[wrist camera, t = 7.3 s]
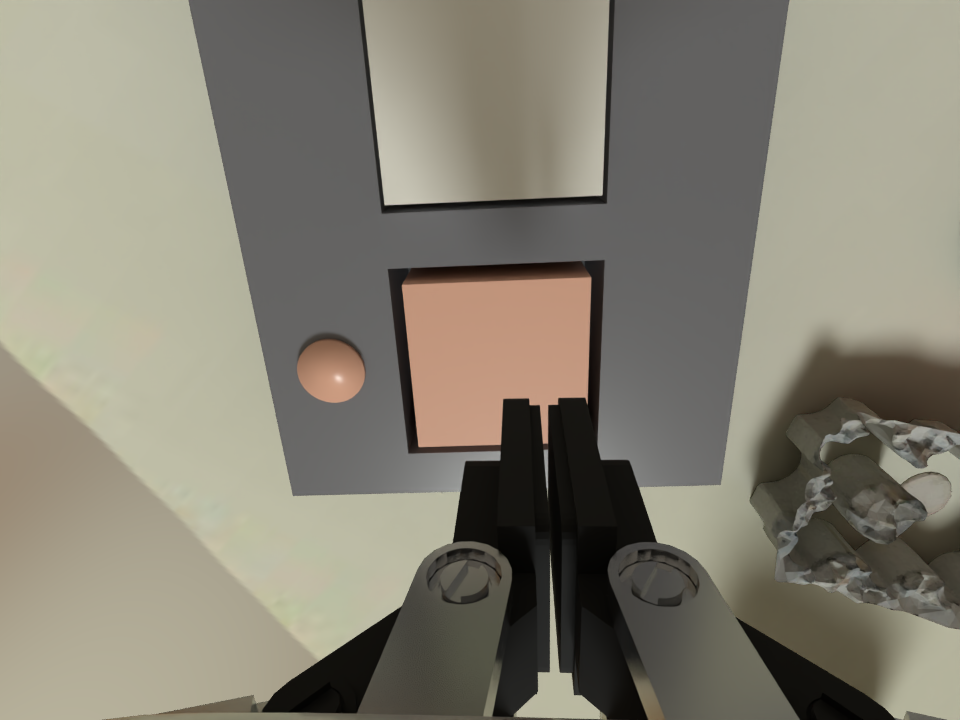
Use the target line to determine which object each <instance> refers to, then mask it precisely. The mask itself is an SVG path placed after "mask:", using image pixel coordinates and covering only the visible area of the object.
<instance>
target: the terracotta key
mask: <svg viewBox="0 0 960 720" xmlns="http://www.w3.org/2000/svg"><path fill="white" fill-rule="evenodd" d="M402 291H403V301H404V310H405V320H406V330H407V340H408V349H409V359H410V369H411V378H412V388H413V398H414V407H415V417H416V427H417V437H418V446H419V447H440V446H475V445H501V432H502V411H503V399H515V398H529V403H530V405H540V412H541V424H542V437H543V444H545V443H548V405H558V398H583V397H585V398H586V401H587V403H588V369H589V336H590V303H591V276H590V275H589V273H588V271H587V270H586V268H585V267H584V265H583V264H582V262H581V261H568V262H544V263H520V264H495V265H471V266H446V267H422V268H411V270H410V272H409V273H408V275H407V277H406V279H405V280H404V282H403V284H402Z"/></svg>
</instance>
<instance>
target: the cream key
mask: <svg viewBox="0 0 960 720" xmlns="http://www.w3.org/2000/svg"><path fill="white" fill-rule="evenodd" d="M362 3H363V12H364V21H365V30H366V39H367V48H368V58H369V67H370V76H371V85H372V94H373V103H374V113H375V122H376V131H377V140H378V149H379V158H380V168H381V177H382V186H383V195H384V204H385V205H403V204H425V203H447V202H469V201H491V200H513V199H535V198H557V197H579V196H601V195H602V194H603V166H604V138H605V110H606V82H607V55H608V27H609V0H362Z"/></svg>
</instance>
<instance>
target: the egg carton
mask: <svg viewBox="0 0 960 720" xmlns="http://www.w3.org/2000/svg"><path fill="white" fill-rule="evenodd" d="M868 430H869V431H870V432H871V433H872V434H873V435H875V436H876V437H877V438H878V439H880V440H881V441H882V442H883V443H884V444H885V445H887V446H888V447H889V448H890V449H892V450H893V451H894V452H895V453H896V454H898V455H899V456H900V457H902V458H903V459H905V460H907V461H908V462H909V463H911V464H912V465H913V466H914V467H916V468H925V467H927V466H928V465H927V460H928V458H929V457H931V456H932V455H935V454H940V453H944V452H946V451H949V452H950V453H952V454H953V455H954V456H956V457H957V458H958V459H960V434H959V433H958V432H956V430H954V429H951V428H949V427H948V426H947V425H945V424H943V423H941V422H939V421H933V420H918V419H913V420H912V421H911V422H910V423H908V424H907V423H903V422H899V421H895V420H890V421H886V420H883V419H881V418H879V417H878V415H877V414H876V413H875V412H873V411H871V410H869V409H868V408H867V406H866V405H865V404H863V403H862V402H859V401H856V400H854V399H850V398H841V397H838V398H836V399H835V400H834V401H833V402H832V403H831V404H830V405H829V406H828V407H826V408H825V409H823V410H822V411H819V412H815V413H812V414H800V415H796V416H795V417H794V419H793V421H792V422H791V424H790V427H789V428H788V430H787V432H786V436H787V437H788V438H789V439H790V440H791V441H792V442H793V443H794V444H795V445H796V446H797V448H798V449H799V450H800V451H801V461H800V464H799V466H798V468H797V469H796V470H795V471H794V472H793V473H792V474H791V475H789V476H788V477H786V478H784V479H782V480H779V481H776V482H770V483H760V484H759V485H758V486H757V488H756V490H755V492H754V494H753V496H752V497H751V500H750V503H751V505H752V506H753V507H754V509H755V510H756V511H757V513H758V514H759V516H760V517H761V519H762V520H763V522H764V523H765V524H764V528H763V529H764V531H765V532H766V535H767V537H768V538H769V539H770V541H771V542H772V543H773V545H774V546H775V547H776V549H777V551H778V552H777V558H776V569H775V580H776V581H777V582H790V583H797V584H802V585H805V584H809V583H811V584H815V585H818V586H821V587H823V588H824V589H825V590H827V591H828V592H831V593H832V592H834V591H835V590H836V591H838V592H840V593H842V594H843V595H845V596H846V597H848V598H849V599H851V600H853V601H854V602H856V603H871V604H876V605H879V606H882V607H885V608H888V609H891V610H899V611H905V612H908V613H911V614H913V615H916V616H919V617H921V618H924V619H927V620H929V621H932V622H935V623H937V624H940V625H943V626H945V627H948V628H954V629H960V551H956V552H950V553H945V554H943V555H940V556H939V557H937V558H935V559H934V560H933V561H932V562H931V563H930V564H928V565H927V564H926V563H925V562H924V561H923V560H922V559H921V558H920V557H919V556H918V555H917V554H916V553H915V552H914V551H913V550H912V549H911V548H910V547H909V546H908V545H907V544H906V543H905V542H904V541H903V540H902V539H900V538H899V537H898V536H899V535H900V534H902V533H903V532H904V531H905V530H906V529H907V528H909V527H910V526H911V525H912V524H913V523H914V522H915V521H924V520H925V518H926V517H928V516H930V515H932V514H934V513H936V512H938V511H939V510H941V509H942V508H943V507H944V506H945V505H946V504H947V502H948V500H949V499H950V497H951V492H952V491H951V484H950V482H949V481H948V479H947V477H945V476H943V475H941V474H939V473H932V472H930V473H927V472H925V473H922V474H918V475H915V476H913V477H911V478H909V479H908V480H906V481H905V482H903V483H902V484H901V485H900V484H898V483H897V482H896V481H895V480H894V479H893V478H892V477H891V476H890V475H889V474H887V473H886V472H885V471H884V470H883V469H882V468H880V467H879V466H878V465H877V464H876V463H874V462H873V461H872V460H871V459H869V458H868V457H867V456H864V455H860V454H848V455H844V456H840V457H838V458H836V459H834V460H833V461H831V462H830V463H829V464H828V465H826V464H825V463H824V462H822V461H821V459H820V454H819V453H820V451H821V448H822V447H823V446H824V444H825V443H826V442H829V441H834V442H839V443H847V444H849V443H850V442H852V441H853V440H855V439H856V438H858V437H863V436H868V435H869V434H870V433H869V432H868ZM831 504H833V505H834V506H835V507H836V509H837V510H838V511H839V512H840V513H841V514H842V515H843V516H844V518H845V519H846V520H847V521H848V523H849V524H850V525H851V526H852V527H853V528H854V529H855V530H856V531H858V532H859V533H861V534H862V535H863V536H865V537H867V538H868V539H870V541H867V542H865V543H864V544H863V545H862V546H861V547H859V548H858V549H857V550H853V549H852V548H851V546H850V545H849V544H848V543H847V542H846V540H845V539H844V538H843V537H842V536H841V535H840V533H839V532H838V531H837V530H836V529H835V527H834V526H833V525H832V524H831V523H829V522H827V521H825V520H821V519H810V518H811V516H812V514H813V513H814V512H818V511H823V510H826V509H827V508H828V507H829V506H830V505H831Z"/></svg>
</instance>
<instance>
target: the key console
mask: <svg viewBox="0 0 960 720" xmlns="http://www.w3.org/2000/svg"><path fill="white" fill-rule="evenodd" d="M189 5H190V10H191V15H192V19H193V24H194V29H195V34H196V38H197V43H198V48H199V53H200V57H201V62H202V67H203V72H204V76H205V81H206V86H207V90H208V95H209V100H210V105H211V109H212V114H213V119H214V124H215V128H216V133H217V138H218V143H219V147H220V152H221V157H222V162H223V166H224V171H225V176H226V181H227V185H228V190H229V195H230V199H231V204H232V209H233V214H234V218H235V223H236V228H237V233H238V237H239V242H240V247H241V252H242V256H243V261H244V266H245V271H246V275H247V280H248V285H249V290H250V294H251V299H252V304H253V308H254V313H255V318H256V323H257V327H258V332H259V337H260V342H261V346H262V351H263V356H264V361H265V365H266V370H267V375H268V380H269V384H270V389H271V394H272V399H273V403H274V408H275V413H276V417H277V422H278V427H279V432H280V436H281V441H282V446H283V451H284V455H285V460H286V465H287V470H288V474H289V479H290V484H291V489H292V493H293V496H304V495H344V494H383V493H422V492H461V485H462V479H463V472H464V466H465V462H466V461H499V460H500V453H501V445H475V446H440V447H419V446H418V437H417V427H416V417H415V407H414V398H413V388H412V378H411V369H410V359H409V349H408V340H407V330H406V320H405V310H404V301H403V291H402V284H403V282H404V280H405V279H406V277H407V275H408V273H409V272H410V270H411V268H422V267H446V266H471V265H495V264H520V263H544V262H568V261H581V262H582V264H583V265H584V267H585V268H586V270H587V271H588V273H589V275H590V276H591V303H590V336H589V369H588V403H587V405H588V409H589V413H590V417H591V421H592V425H593V430H594V434H595V438H596V442H597V446H598V450H599V454H600V458H601V460H629V461H630V463H631V466H632V469H633V472H634V475H635V478H636V481H637V484H638V487H658V486H697V485H721V479H722V472H723V464H724V457H725V450H726V443H727V436H728V429H729V422H730V415H731V408H732V401H733V394H734V387H735V380H736V373H737V365H738V358H739V351H740V344H741V337H742V330H743V323H744V316H745V309H746V302H747V295H748V288H749V281H750V273H751V266H752V259H753V252H754V245H755V238H756V231H757V224H758V217H759V210H760V203H761V196H762V189H763V182H764V174H765V167H766V160H767V153H768V146H769V139H770V132H771V125H772V118H773V111H774V104H775V97H776V90H777V83H778V75H779V68H780V61H781V54H782V47H783V40H784V33H785V26H786V19H787V12H788V5H789V0H609V27H608V55H607V82H606V110H605V138H604V166H603V194H602V195H601V196H579V197H557V198H535V199H513V200H491V201H469V202H447V203H425V204H403V205H385V204H384V195H383V186H382V177H381V168H380V158H379V149H378V140H377V131H376V122H375V113H374V103H373V94H372V85H371V76H370V67H369V58H368V48H367V39H366V30H365V21H364V12H363V3H362V0H189ZM543 449H544V461H545V473H546V486H547V489H548V443H545V444H543Z"/></svg>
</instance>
